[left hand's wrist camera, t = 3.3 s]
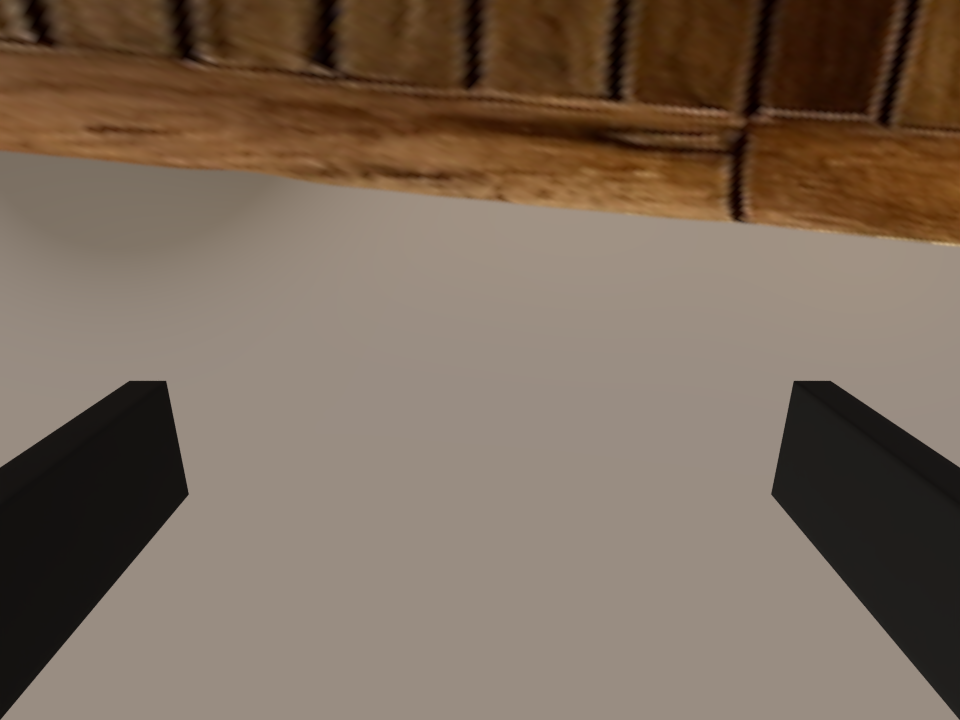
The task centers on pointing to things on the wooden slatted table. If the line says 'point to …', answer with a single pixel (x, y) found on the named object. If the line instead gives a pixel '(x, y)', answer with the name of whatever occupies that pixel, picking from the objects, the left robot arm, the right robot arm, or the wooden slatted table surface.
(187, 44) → the wooden slatted table surface
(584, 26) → the wooden slatted table surface
